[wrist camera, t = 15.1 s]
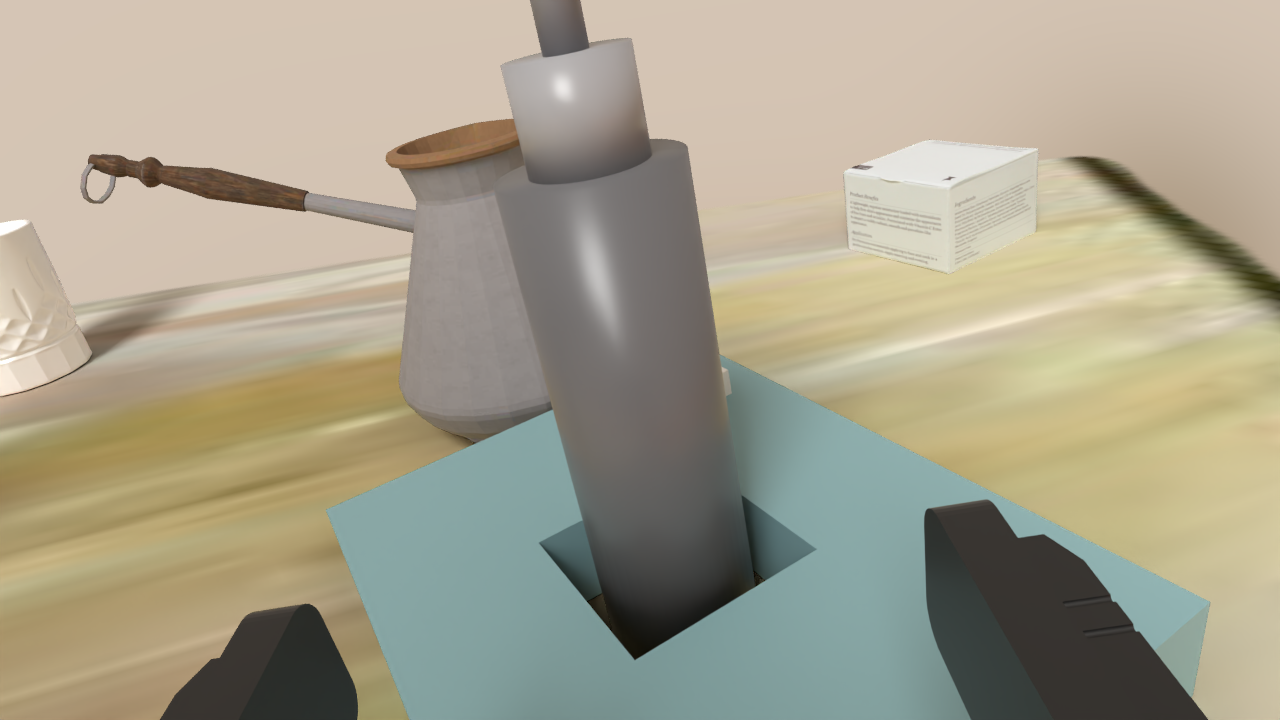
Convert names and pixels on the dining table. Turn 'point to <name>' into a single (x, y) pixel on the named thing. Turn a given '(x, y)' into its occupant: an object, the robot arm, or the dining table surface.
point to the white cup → (34, 315)
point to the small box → (942, 203)
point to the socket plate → (726, 639)
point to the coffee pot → (425, 270)
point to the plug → (624, 331)
